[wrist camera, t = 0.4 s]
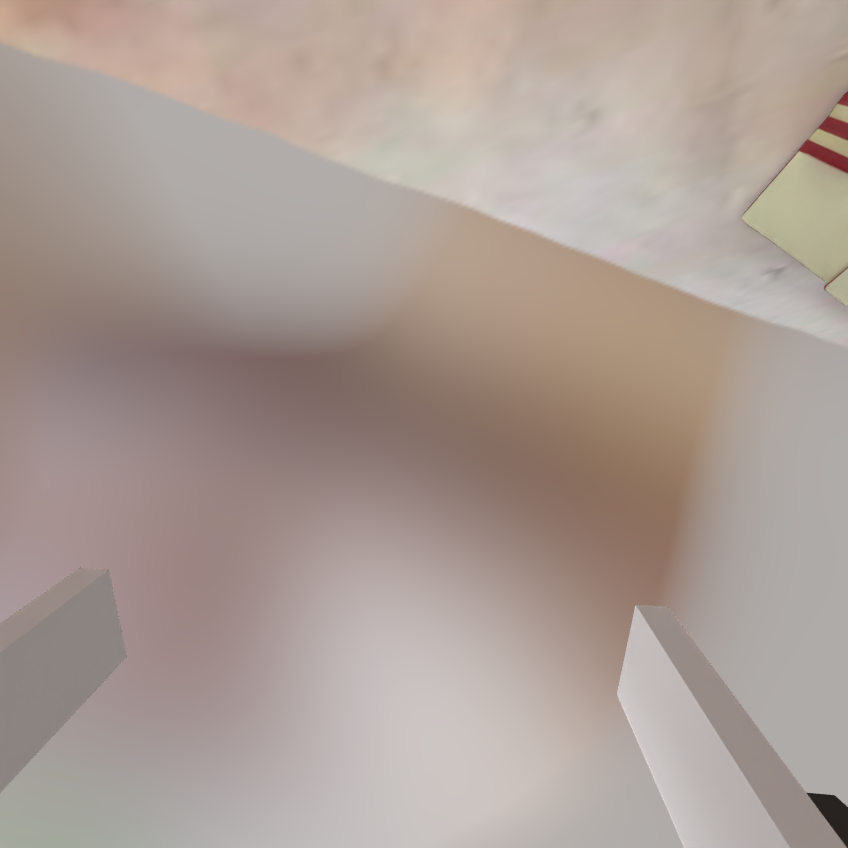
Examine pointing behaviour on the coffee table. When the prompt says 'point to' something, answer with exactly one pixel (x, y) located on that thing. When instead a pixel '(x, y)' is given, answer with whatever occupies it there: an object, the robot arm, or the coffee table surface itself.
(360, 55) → the coffee table surface
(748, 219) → the gift box
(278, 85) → the coffee table surface
